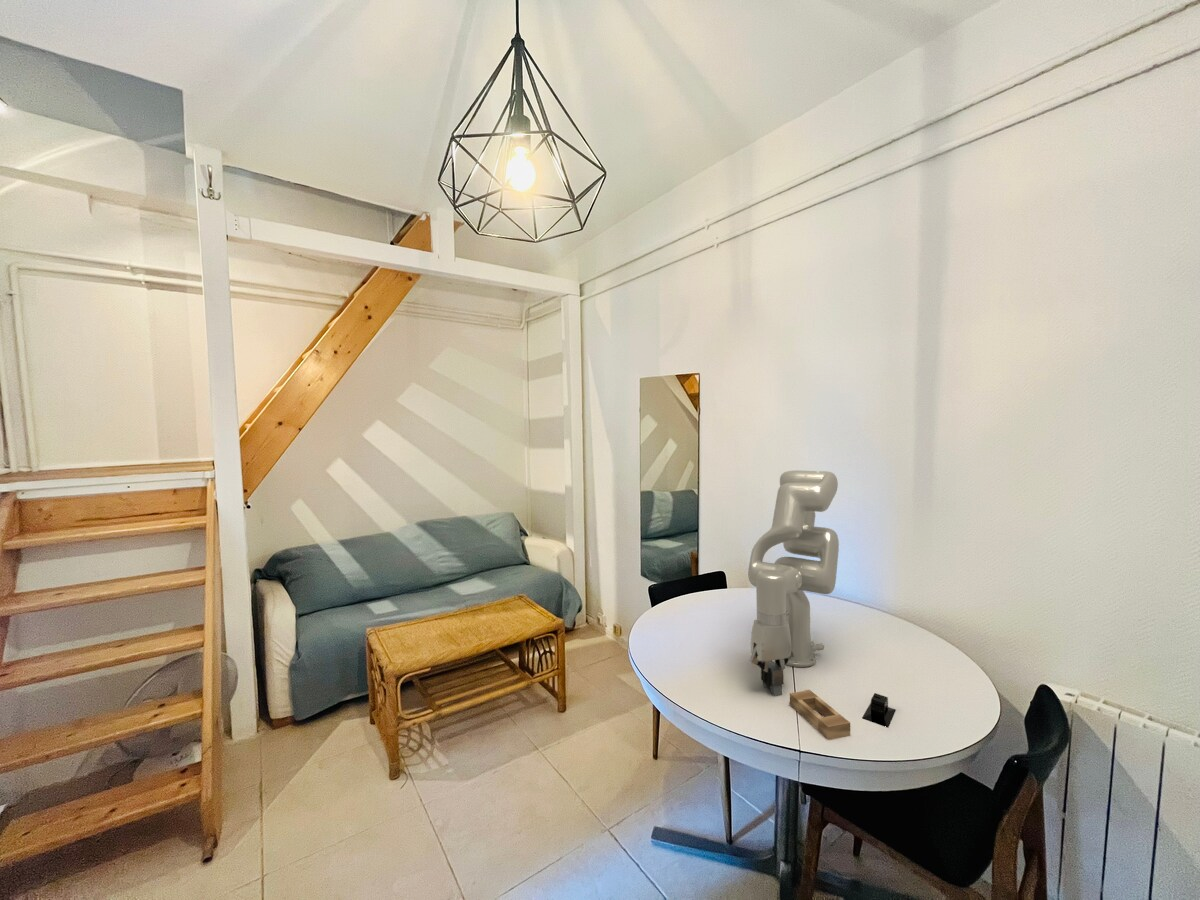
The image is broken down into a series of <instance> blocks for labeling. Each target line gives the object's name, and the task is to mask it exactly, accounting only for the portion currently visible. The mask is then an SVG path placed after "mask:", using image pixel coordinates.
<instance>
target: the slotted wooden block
mask: <svg viewBox="0 0 1200 900" xmlns="http://www.w3.org/2000/svg"><path fill="white" fill-rule="evenodd" d="M789 705H790V707H791V708H793V709H794V710H795V711H796V712H797V713H799V714H800V716H802V717H803V719H805V720H806V721H807V722H808V723H809V724H810V725H812V726H813V727H814V728H815V729H816V730H817V731H818V732H819V733H820V734H821V735H822V736H823V737H824V738H825V739H826V740H829V741H830V740H834V739H838V738H844V737H849V736H851V722H850V721H849V720H847V718H845V717H844V716H843V715H842V714H840V713H839V712H838V711H836V710H835V709H834V708H833V707H832V706H830V705H829V704H828V703H827V702H825V701H824V700H823V699H822V698H821V697H819V696H818V695H817V694H816V693H815V692H813V691H812V690H810V689H808V690H807V689H806V690H800V691H795V692H790V693H789ZM815 710H816V711H815Z"/></svg>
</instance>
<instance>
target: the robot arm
mask: <svg viewBox="0 0 1200 900" xmlns="http://www.w3.org/2000/svg"><path fill="white" fill-rule="evenodd" d="M779 477H780V478H779V487H778V490H777V494H776V500H775V505H774V511H773V518H772V525H771V528H770V529H769V530H767V532H765V533H764V534H763V535H762V536H761V537H759V539H758V540H757V541H756V543H755V544H754V545H753V548H752V550H751V554H750V558H749V563H748V568H747V569H748V571H747V578H748V581H749V583H750V584H751V585H752V586H753V587H755V589H756V592H755V593H756V619H755V620H753V624H752V628H751V637H750V653H751V654H750V656H749V659H748V661H749V662H750V663H751V664H753V665H755V666H758V667H759V668H760V679H761V681H763V682H764V683H765V684H766V685H767V686H770V685H771V683H770V672H769V671H768V669H769V661H771V660H772V661H774V662H775V663H776V664H777V665H778V666H779V667H781V668H782V669H783V671H785V669H786V665H787V666H790V667H797V668H807V667H811V666H813V665H815V664H816V662H817V656H816V654H815V652H817V651H823V650H825V645H824V644H823V643H815V641H813V640H812V641H811V604H810V600H809V598H808V596H807V595H806V593H805V592H809V593H815V594H820V595H830V594H832V593H833V591H834V590H835V587H836V581H837V570H838V563H839V561H838V559H839V551H840V549H839V545H840V541H839V537H838V534H837V532H836V531H835V530H833V528H830V527H823V526H815V522H816V512H817V513H818V512H820V513H824V512H825V511H827V510H828V508H829V507H830V506H831V504H832V502H833V500H834V498H835V495H836V494H837V491H838V488H839V487H838V486H839V484H838V483H839V482H838V478H837V476H836V475H835V474H834V473H833V472H831V471H826V470H825V471H824V470H820V471H819V470H788V471H784V472H782V474H781V475H780V476H779ZM780 544H783V548H784V550H785V552H787V553H790V554H793V555H798V556H803V557H809V558H811V557H812V558H818V559H819V560H816V559H815V560H814V559H808V558H802V557H794V556H781V557H779V558H777V559H776V560H775V562H774V563H773V562H767V561H764V556H765V554H766V553H767V552H768V551H769V550H770V549H771V548H773V547H775V546H777V545H780Z"/></svg>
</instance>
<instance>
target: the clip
mask: <svg viewBox="0 0 1200 900" xmlns="http://www.w3.org/2000/svg"><path fill="white" fill-rule="evenodd" d="M768 671H769V672H770V683H771V685H770V686H767V685H766V684H765V683H764V682H763V681H762V680H761V681H762V686H763V687H764V688H765V689H769V688H770V693H771V694H772V695H773V697H779V696H782V695H783V685H784V682H785V679H784V670H783V669H782V668H781V667H779V666H778V665H777V664H776V663H775V661H774V660H771V661H769V669H768Z"/></svg>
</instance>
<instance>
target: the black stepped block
mask: <svg viewBox="0 0 1200 900" xmlns="http://www.w3.org/2000/svg"><path fill="white" fill-rule="evenodd" d="M870 701H871V702H870V704H869V705H868V707H867V709H866V710H865V711H864V714H863V715H862V717H861V719H863V720H865V721H868V722H871V723H874V724H877V725H879V726H882V727H885V726H886V727H885V728H888V729H889V728H890V725H891V722H892V720H893V718H894V716H895V714H896V711H897V709H895V708H892V707H889V696H885V695H882V694H879V693H875V692H874V694H873V696H872V697H871V699H870Z"/></svg>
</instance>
